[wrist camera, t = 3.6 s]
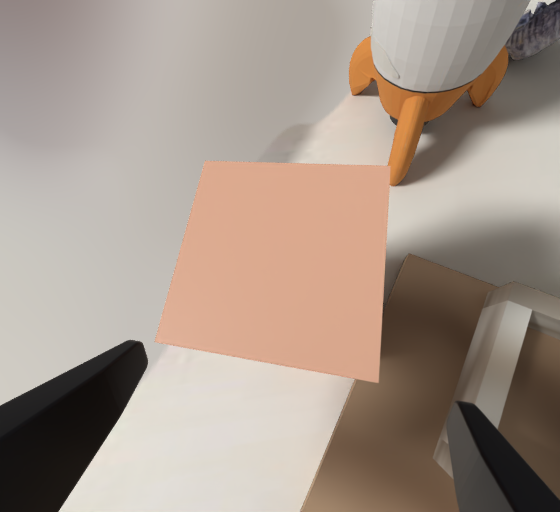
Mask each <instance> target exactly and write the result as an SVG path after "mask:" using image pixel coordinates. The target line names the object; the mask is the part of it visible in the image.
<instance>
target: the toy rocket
mask: <svg viewBox="0 0 560 512" xmlns="http://www.w3.org/2000/svg"><path fill="white" fill-rule="evenodd" d="M529 2H530V0H373V11H372V27H371V36H370V37H368V38H366V39H364V40H363V41H362V42H361V43H360V44H359V45H358V46H357V48H356V50H355V51H354V53H353V55H352V58H351V61H350V67H349V84H350V88H351V91H352V95H357V94H359V93H360V92H361V91H363V90H364V89H365V88H366V87H367V86H369V85H370V83H372V82H373V81H374V80H376V81H377V86H378V91H379V97H380V101H381V103H382V106H383V108H384V109H385V111H386V112H387V113H388V114H389V115H390V118H391V120H392V122H393V123H394V124H395V125H396V126H397V127H396V131H395V135H394V141H393V145H392V150H391V154H390V158H389V162H388V166H391V167H390V185H391V186H396V185H397V184H398V183H400V182H401V181H402V180H403V178H404V177H405V175H406V174H407V171H408V169H409V167H410V164H411V162H412V159H413V157H414V154H415V151H416V148H417V145H418V142H419V138H420V135H421V132H422V128H423V126H424V125H426V124H427V123H428V122H429V121H430V120H433V119H435V118H437V117H439V116H441V115H442V114H443V113H445V112H446V111H447V110H448V109H449V108H450V107H451V106H452V105H453V104H454V103H455V102H456V101H457V100H458V99H459V98H460V97H461V96H462V95H463V93H464V92H465V91H466V90H467V91H468V93H469V96H470V98H471V100H472V102H473V105H475V106H478V107H481V106H482V105H483V104H484V103H485V102H486V101H487V100H488V99H489V97H490V96H491V95H492V94H493V92H494V91H495V90H496V88H497V87H498V85H499V84H500V82H501V80H502V79H503V77H504V75H505V73H506V69H507V66H508V52H507V49H506V47H505V43H506V42H507V40H508V39H509V37H510V36H511V34H512V32H513V31H514V29H515V27H516V25H517V24H518V22H519V20H520V18H521V17H522V15H523V13H524V11H525V10H526V8H527V6H528V4H529Z"/></svg>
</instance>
